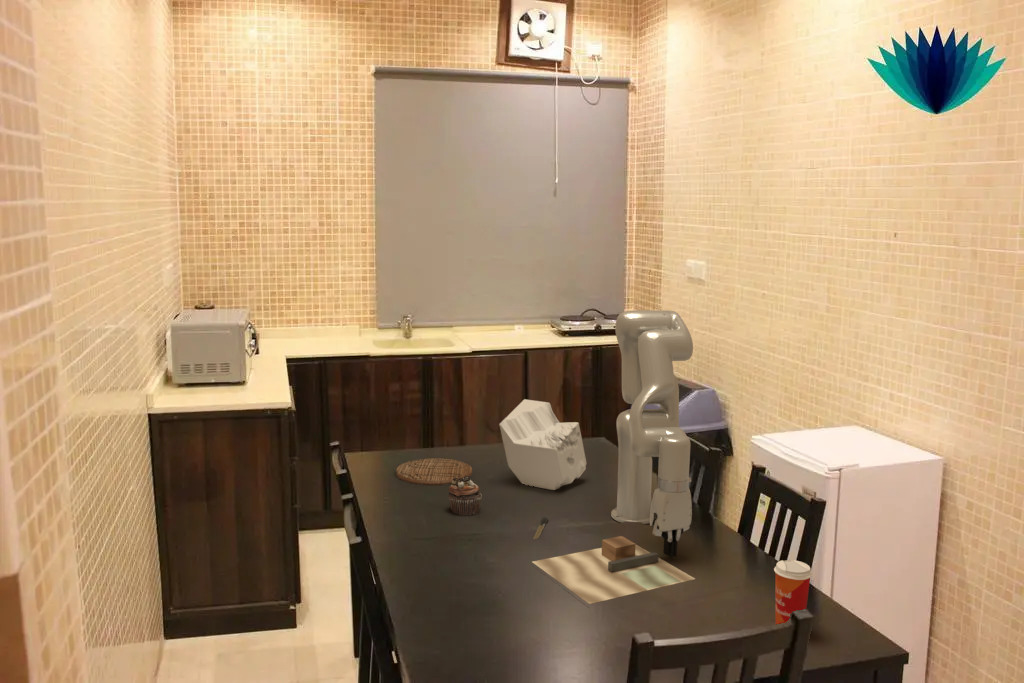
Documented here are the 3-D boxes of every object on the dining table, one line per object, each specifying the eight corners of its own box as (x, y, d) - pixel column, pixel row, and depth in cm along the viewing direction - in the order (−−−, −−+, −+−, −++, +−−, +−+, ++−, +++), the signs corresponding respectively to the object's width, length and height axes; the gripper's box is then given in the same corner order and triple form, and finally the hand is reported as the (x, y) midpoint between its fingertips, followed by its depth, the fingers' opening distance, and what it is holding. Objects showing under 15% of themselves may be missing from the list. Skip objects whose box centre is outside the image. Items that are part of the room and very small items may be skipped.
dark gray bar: (654, 559, 219) (655, 551, 219) (658, 561, 218) (658, 554, 218) (608, 569, 213) (608, 561, 212) (611, 572, 211) (611, 564, 211)
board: (631, 545, 231) (631, 541, 231) (695, 582, 209) (695, 578, 209) (531, 565, 217) (531, 561, 217) (589, 608, 195) (589, 603, 195)
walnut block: (621, 550, 225) (621, 536, 224) (635, 559, 220) (635, 544, 219) (601, 554, 222) (602, 539, 222) (615, 563, 217) (615, 548, 216)
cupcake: (462, 519, 249) (462, 485, 248) (442, 510, 256) (442, 476, 255) (488, 511, 255) (488, 478, 254) (467, 503, 263) (468, 470, 261)
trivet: (469, 487, 278) (469, 481, 278) (391, 485, 279) (391, 480, 278) (474, 464, 303) (474, 459, 303) (401, 463, 303) (401, 457, 303)
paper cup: (765, 620, 190) (768, 559, 188) (799, 619, 191) (803, 558, 189) (778, 638, 182) (783, 574, 180) (814, 637, 183) (819, 573, 181)
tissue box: (591, 472, 285) (579, 406, 275) (568, 501, 273) (555, 433, 263) (537, 463, 296) (524, 398, 285) (513, 490, 284) (499, 424, 274)
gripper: (687, 476, 224) (683, 544, 227) (639, 484, 217) (636, 554, 220) (706, 484, 218) (703, 555, 221) (658, 493, 211) (655, 565, 214)
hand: (670, 554), depth 220 cm, fingers closed
